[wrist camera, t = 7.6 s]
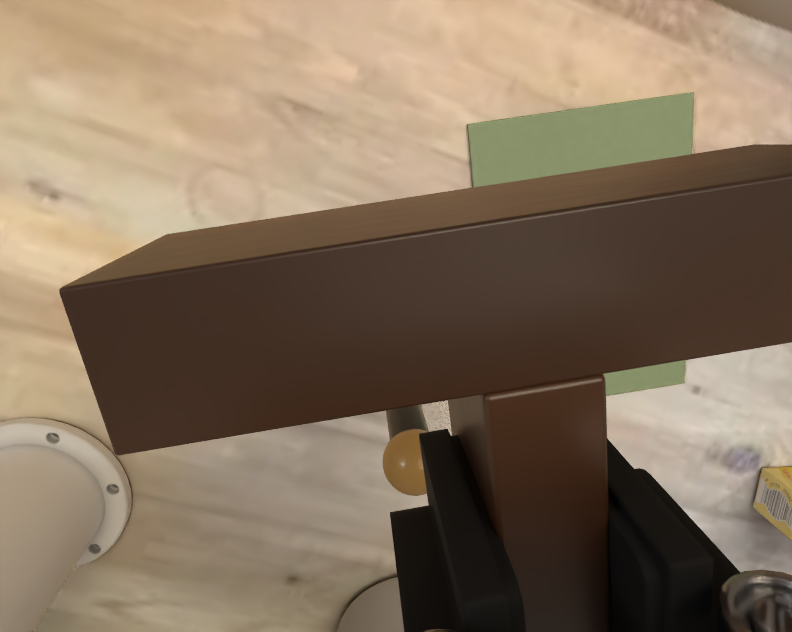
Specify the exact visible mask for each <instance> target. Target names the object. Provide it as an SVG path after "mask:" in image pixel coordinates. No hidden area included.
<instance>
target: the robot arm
mask: <svg viewBox="0 0 792 632" xmlns="http://www.w3.org/2000/svg"><path fill="white" fill-rule="evenodd" d="M419 441H420V448H421V455H422V462H423V469H424V476H425V483H426V490H427V496H428V503H429V506H423V507H418V508H412V509H406V510H401V511H395V512H390V517H391V525H392V534H393V542H394V551H395V559H396V567H397V576H398V584H399V593H400V601H401V609H402V618H403V626H404V632H526V624H525V613H524V606H523V601H522V596H521V592H520V588H519V584H518V581H517V578H516V575H515V572H514V570H513V567H512V565H511V562H510V560H509V557H508V555H507V552H506V550H505V547H504V544H503V542H502V539H501V538H499V537H498V536H497V535H496V534H495V531H494V529H493V526H492V524H491V521H490V518H489V516H488V513H487V511H486V508H485V505H484V503H483V500H482V497H481V495H480V492H479V490H478V487H477V484H476V482H475V479H474V476H473V474H472V471H471V469H470V466H469V463H468V461H467V458H466V456H465V453H464V450H463V448H462V445H461V442H460V440H459V437H458V435H455V436H450V434H449V431H448V429H443V430H437V431H432V432H426V433H420V434H419ZM607 469H608V512H609V555H610V598H611V632H792V575H789V574H786V573H783V572H775V571H767V570H754V571H744V572H742V573H740V572H739V571H738V569H737V568H736V567H735V566H734V565H733V564H732V563H731V562H730V561H729V560H728V559H727V557H726V556H725V555H724V554H723V553H722V552H721V551H720V550H719V549H718V548H717V547H716V545H715V544H714V543H713V542H712V541H711V540H710V539H709V538H708V537H707V536H706V535H705V533H704V532H703V531H702V530H701V529H700V528H699V527H698V526H697V525H696V524H695V523H694V521H693V520H692V519H691V518H690V517H689V516H688V515H687V514H686V513H685V512H684V511H683V510H682V508H681V507H680V506H679V505H678V504H677V503H676V502H675V501H674V500H673V499H672V498H671V496H670V495H669V494H668V493H667V492H666V491H665V490H664V489H663V488H662V487H661V486H660V484H659V483H658V482H657V481H656V480H655V479H654V478H653V477H652V476H651V475H650V474H649V473H648V472H647V471H646V470H644V469H640V468H639V469H634V468H633V467H632V466H631V465H630V464H629V463H628V462H627V460H626V459H625V458H624V457H623V456H622V455H621V454H620V453H619V451H618V450H617V449H616V448H615V447H614V446H613V445H612V443H611V442H610V441H609V440H608V439H607ZM131 505H132V499H131V488H130V485H129V481H128V478H127V475H126V473H125V471H124V470H123V468H122V466H121V464H120V462H119V461H118V460H117V459H116V457H115V456H114V455H113V454H112V452H111V451H110V450H109V449H108V448H106V447H105V446H104V445H103V444H102V443H101V442H100V441H98V440H97V439H96V438H94V437H92V436H91V435H89V434H88V433H86V432H84V431H83V430H80V429H78V428H75V427H73V426H71V425H68V424H66V423H62V422H58V421H54V420H50V419H40V418H18V419H10V420H6V421H2V422H0V632H33V631H34V629H35V627H36V626H37V624H38V623H39V621H40V620H41V618H42V617H43V615H44V613H45V612H46V610H47V609H48V607H49V606H50V604H51V603H52V601H53V599H54V598H55V596H56V595H57V593H58V592H59V590H60V589H61V587H62V585H63V584H64V582H65V581H66V579H67V578H68V576H69V575H70V573H71V572H72V570H73V568H76V567H80V566H82V565H85V564H87V563H89V562H92V561H94V560H95V559H97V558H98V557H100V556H101V555H103V554H104V553H106V552H107V551H108V550H109V549H110V547H111V546H112V545H113V544H114V543H115V542H116V541H117V539H118V538H119V536H120V534H121V533H122V531H123V530H124V528H125V525H126V523H127V521H128V519H129V516H130V510H131Z"/></svg>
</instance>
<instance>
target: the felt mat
mask: <svg viewBox="0 0 792 632" xmlns="http://www.w3.org/2000/svg"><path fill="white" fill-rule="evenodd" d="M693 112H694V92H691V93H684V94H677V95H670V96H663V97H656V98H649V99H642V100H635V101H628V102H621V103H614V104H607V105H600V106H592V107H585V108H578V109H571V110H564V111H557V112H550V113H543V114H536V115H529V116H522V117H515V118H508V119H501V120H494V121H487V122H480V123H473V124H468V125H467V126H468V137H469V148H470V160H471V171H472V182H473V188H474V187H481V186H487V185H494V184H500V183H507V182H513V181H520V180H526V179H533V178H539V177H546V176H553V175H559V174H566V173H572V172H579V171H585V170H592V169H598V168H605V167H611V166H618V165H625V164H631V163H638V162H644V161H651V160H657V159H664V158H670V157H677V156H683V155H690V154H692V142H693ZM603 375H604V377H605V383H606V396H609V395H615V394H621V393H627V392H633V391H639V390H646V389H652V388H658V387H664V386H670V385H676V384H682V383H685V360H683V361H677V362H671V363H665V364H659V365H653V366H647V367H641V368H635V369H629V370H623V371H617V372H611V373H605V374H603Z"/></svg>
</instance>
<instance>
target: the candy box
mask: <svg viewBox="0 0 792 632" xmlns="http://www.w3.org/2000/svg"><path fill="white" fill-rule="evenodd" d="M753 507H754V508H755V509H756V510H757V511H758V512H759V513H760V514H761V515H763V516H764V517H765V518H766V519H767V520H768V521H769V522H770V523H772V524H773V525H774V526H775V527H776V528H777V529H779V530H780V531H781V532H782V533H783V534H784V535H785V536H787V537H788V538H789V539H790V540H791V541H792V467H769V468H762V471H761V475H760V479H759V483H758V488H757V492H756V497H755V500H754V504H753Z"/></svg>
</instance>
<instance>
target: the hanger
mask: <svg viewBox="0 0 792 632" xmlns="http://www.w3.org/2000/svg"><path fill="white" fill-rule="evenodd" d="M60 296H61V298H62V301H63V304H64V307H65V310H66V313H67V316H68V319H69V322H70V325H71V327H72V330H73V333H74V336H75V339H76V342H77V345H78V348H79V351H80V353H81V356H82V359H83V362H84V365H85V368H86V371H87V374H88V377H89V380H90V382H91V385H92V388H93V391H94V394H95V397H96V400H97V403H98V406H99V408H100V411H101V414H102V417H103V420H104V423H105V426H106V429H107V432H108V434H109V437H110V440H111V443H112V446H113V449H114V452H115V454H116V455H124V454H130V453H135V452H141V451H147V450H153V449H159V448H165V447H171V446H177V445H183V444H189V443H195V442H201V441H207V440H213V439H219V438H225V437H231V436H237V435H243V434H249V433H254V432H260V431H266V430H272V429H278V428H284V427H290V426H296V425H302V424H308V423H314V422H320V421H326V420H332V419H338V418H344V417H350V416H356V415H362V414H367V413H373V412H379V411H385V410H391V409H397V408H403V407H409V406H415V405H421V404H427V403H433V402H439V401H445V400H448V405H449V413H450V421H451V429H452V436H455V435H458V437H459V440H460V442H461V445H462V448H463V450H464V453H465V456H466V458H467V461H468V463H469V466H470V469H471V471H472V474H473V476H474V479H475V482H476V484H477V487H478V490H479V492H480V495H481V497H482V500H483V503H484V505H485V508H486V511H487V513H488V516H489V518H490V521H491V524H492V526H493V529H494V531H495V534H496V535H497V536H498V537H499V538H501V539H502V542H503V544H504V547H505V550H506V552H507V555H508V557H509V560H510V562H511V565H512V567H513V570H514V572H515V575H516V578H517V581H518V584H519V588H520V592H521V596H522V601H523V606H524V613H525V624H526V632H611V598H610V555H609V512H608V469H607V426H606V383H605V377H604V375H603V374H605V373H611V372H617V371H623V370H629V369H635V368H641V367H647V366H653V365H659V364H665V363H671V362H677V361H683V360H689V359H695V358H701V357H707V356H713V355H718V354H724V353H730V352H736V351H742V350H748V349H754V348H760V347H766V346H772V345H778V344H784V343H790V342H792V145H749V146H742V147H736V148H729V149H723V150H716V151H710V152H703V153H696V154H690V155H683V156H677V157H670V158H664V159H657V160H651V161H644V162H638V163H631V164H625V165H618V166H611V167H605V168H598V169H592V170H585V171H579V172H572V173H566V174H559V175H553V176H546V177H539V178H533V179H526V180H520V181H513V182H507V183H500V184H494V185H487V186H481V187H474V188H467V189H461V190H454V191H448V192H441V193H435V194H428V195H422V196H415V197H409V198H402V199H395V200H389V201H382V202H376V203H369V204H363V205H356V206H350V207H343V208H337V209H330V210H323V211H317V212H310V213H304V214H297V215H291V216H284V217H278V218H271V219H265V220H258V221H252V222H245V223H238V224H232V225H225V226H219V227H212V228H206V229H199V230H193V231H186V232H180V233H173V234H167V235H165V236H163V237H161V238H159V239H157V240H155V241H153V242H151V243H149V244H147V245H145V246H143V247H141V248H139V249H137V250H135V251H133V252H131V253H129V254H127V255H125V256H123V257H121V258H119V259H117V260H115V261H113V262H111V263H109V264H107V265H105V266H103V267H101V268H99V269H97V270H95V271H93V272H91V273H89V274H87V275H85V276H83V277H81V278H79V279H77V280H75V281H73V282H71V283H69V284H67V285H65V286H63V287H62V288H60Z"/></svg>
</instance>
